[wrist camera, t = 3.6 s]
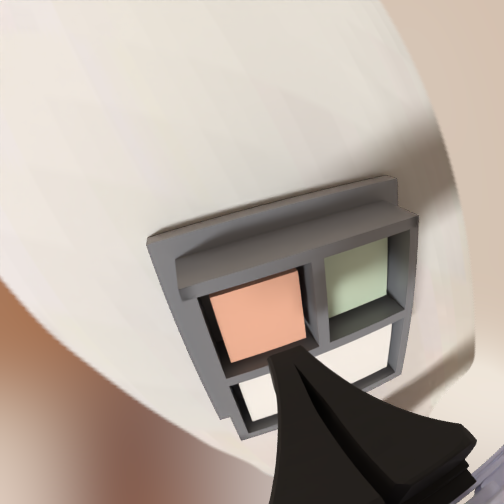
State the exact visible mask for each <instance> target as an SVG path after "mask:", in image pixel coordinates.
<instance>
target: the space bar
mask: <svg viewBox="0 0 504 504" xmlns="http://www.w3.org/2000/svg"><path fill="white" fill-rule="evenodd" d="M391 329H392V324H390V325H387V326H385V327H383V328H381V329H379V330H377V331H375V332H372V333H370V334H368V335H366V336H363V337H361V338H359V339H357V340H354V341H352V342H350V343H347V344H345V345H343V346H340V347H338V348H335V349H333V350H331V351H328V352H326V353H323V354H321V355H318V356H316V357H315V358H317V359H318V360H319V361H320V362H322V363H323V364H324V365H325V366H327V367H328V368H329V369H331V370H332V371H333V372H335V373H336V374H338V375H339V376H340V377H342V378H343V379H345V380H346V381H348V382H349V383H354V382H356V381H358V380H360V379H362V378H364V377H366V376H368V375H370V374H373V373H375V372H377V371H379V370H381V369H383V368H385V367H387V361H388V354H389V346H390V338H391ZM239 386H240V389H241V392H242V394H243V397H244V400H245V403H246V405H247V408H248V411H249V413H250V416H251V419H252V421H255V420H258V419H262V418H265V417H268V416H271V415H274V414H276V413H277V399H276V393H275V390H274V387H273V383H272V379H271V375H270V373H269V374H266V375H263V376H260V377H257V378H254V379H251V380H248V381H245V382H241V383H239Z"/></svg>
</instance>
